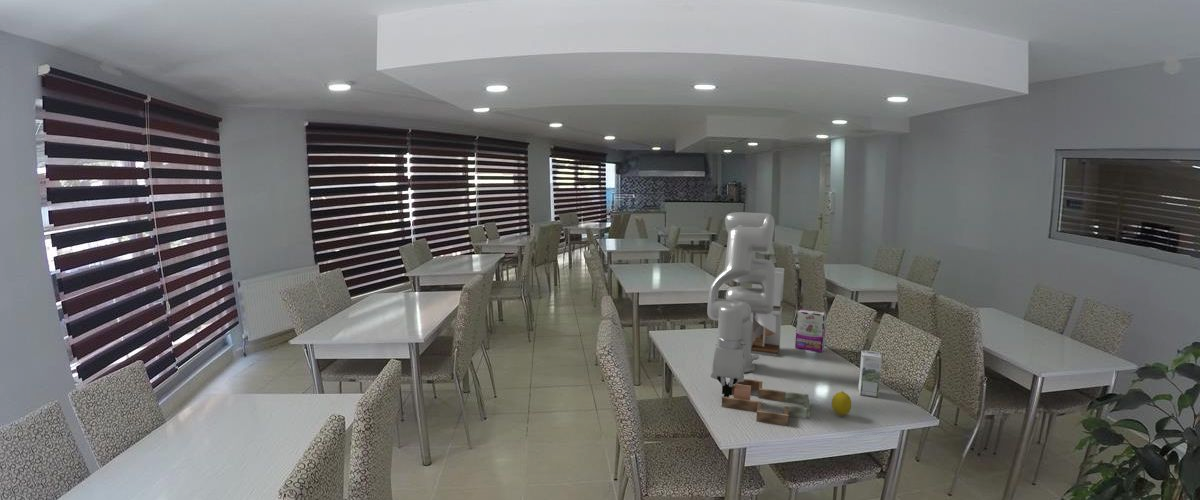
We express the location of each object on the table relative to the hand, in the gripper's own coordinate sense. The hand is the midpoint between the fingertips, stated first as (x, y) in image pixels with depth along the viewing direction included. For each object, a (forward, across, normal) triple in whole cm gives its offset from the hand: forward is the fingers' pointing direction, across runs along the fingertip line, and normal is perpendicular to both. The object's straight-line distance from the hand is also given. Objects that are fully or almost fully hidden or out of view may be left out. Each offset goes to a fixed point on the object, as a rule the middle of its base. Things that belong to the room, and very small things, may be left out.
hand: (726, 396), depth 182 cm
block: (+1, -5, 0) cm, 5 cm away
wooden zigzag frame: (+1, -12, 0) cm, 12 cm away
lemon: (+1, -35, 0) cm, 35 cm away
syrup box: (+1, -45, -22) cm, 51 cm away
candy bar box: (+1, -28, -66) cm, 72 cm away
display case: (+1, -10, -56) cm, 57 cm away
